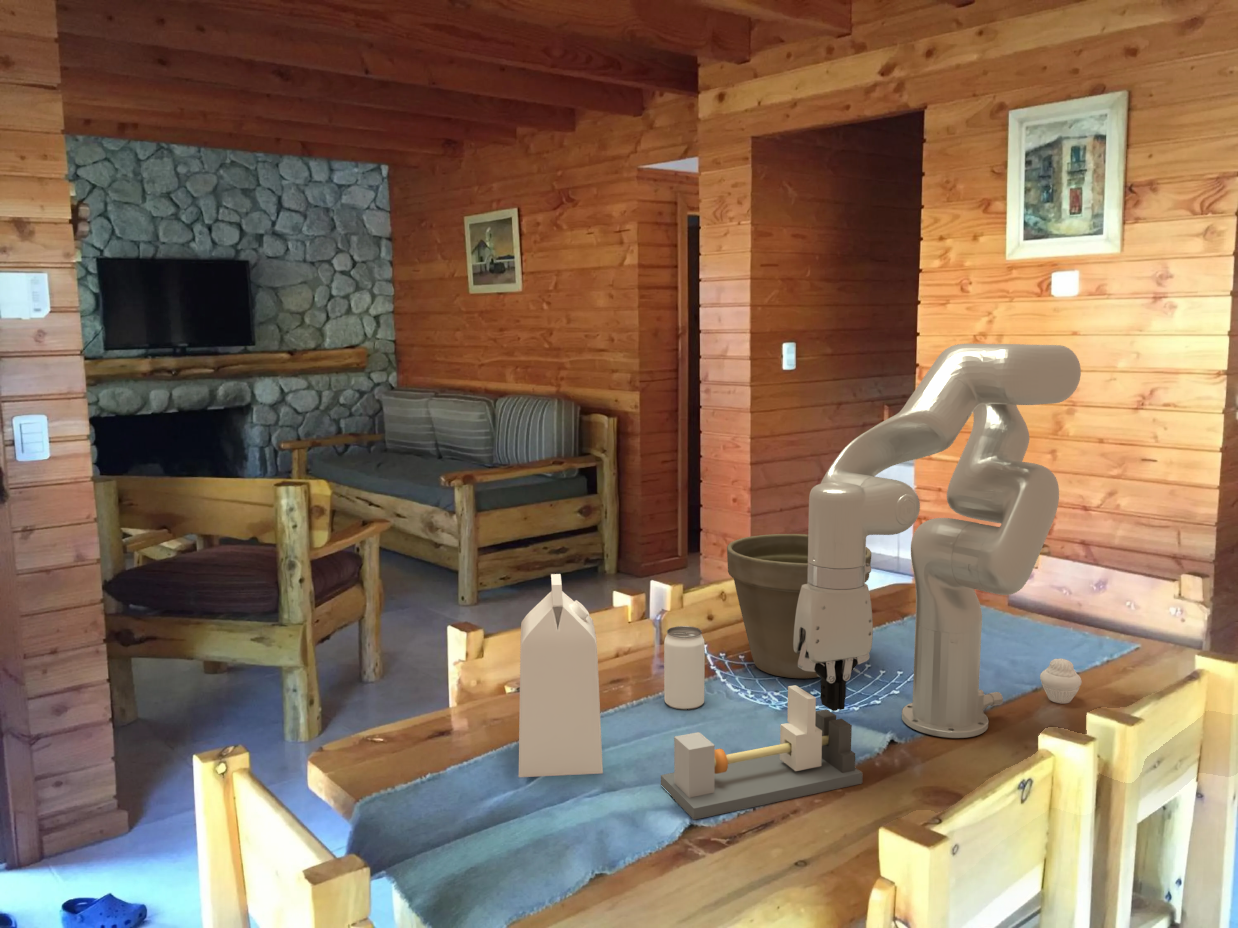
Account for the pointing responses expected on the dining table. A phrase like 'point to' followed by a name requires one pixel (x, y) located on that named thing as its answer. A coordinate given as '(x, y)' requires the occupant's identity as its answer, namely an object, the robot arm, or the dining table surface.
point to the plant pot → (772, 596)
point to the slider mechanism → (756, 772)
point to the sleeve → (801, 731)
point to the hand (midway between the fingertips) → (832, 706)
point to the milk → (559, 689)
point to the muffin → (1060, 681)
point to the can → (684, 667)
